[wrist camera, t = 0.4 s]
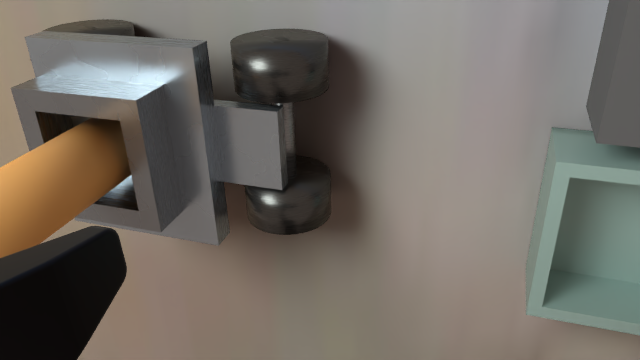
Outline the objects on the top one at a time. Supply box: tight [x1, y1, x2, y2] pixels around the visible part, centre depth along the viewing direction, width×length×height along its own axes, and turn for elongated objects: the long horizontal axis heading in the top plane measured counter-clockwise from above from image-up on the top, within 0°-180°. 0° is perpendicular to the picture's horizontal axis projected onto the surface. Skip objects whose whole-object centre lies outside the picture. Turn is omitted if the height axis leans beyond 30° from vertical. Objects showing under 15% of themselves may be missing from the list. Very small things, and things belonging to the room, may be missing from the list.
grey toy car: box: [11, 20, 331, 246], centre depth 22 cm, size 8×12×6 cm, turn 92°
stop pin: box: [0, 118, 131, 258], centre depth 19 cm, size 3×3×7 cm
